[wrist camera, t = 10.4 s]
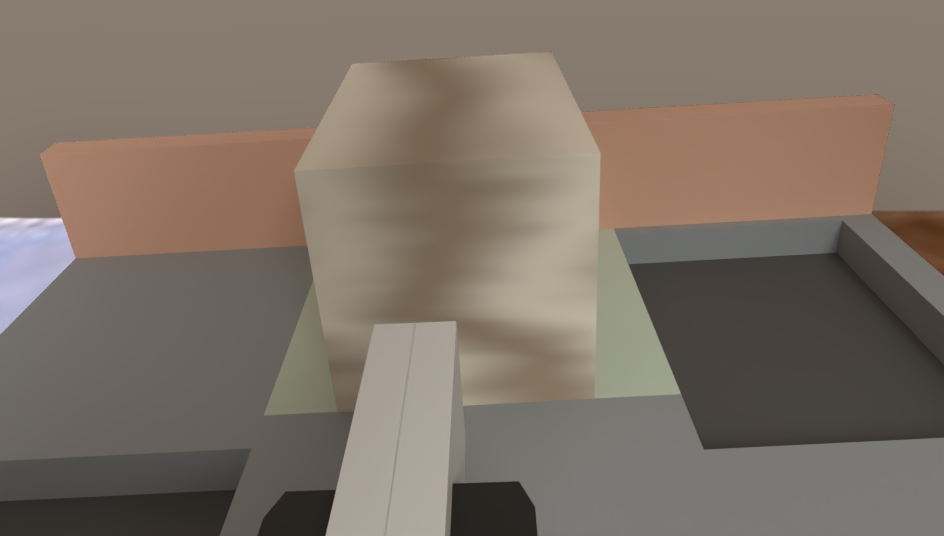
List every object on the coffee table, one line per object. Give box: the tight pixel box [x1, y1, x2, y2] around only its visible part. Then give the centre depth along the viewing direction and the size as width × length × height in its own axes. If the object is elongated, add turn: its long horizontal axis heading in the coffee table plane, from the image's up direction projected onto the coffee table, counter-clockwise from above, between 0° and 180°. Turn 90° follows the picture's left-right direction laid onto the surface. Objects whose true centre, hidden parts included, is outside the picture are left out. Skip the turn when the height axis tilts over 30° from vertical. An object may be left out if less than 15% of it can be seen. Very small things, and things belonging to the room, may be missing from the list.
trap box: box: [0, 94, 944, 536], centre depth 21 cm, size 36×30×7 cm
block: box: [294, 52, 601, 413], centre depth 27 cm, size 8×12×8 cm, turn 1°
